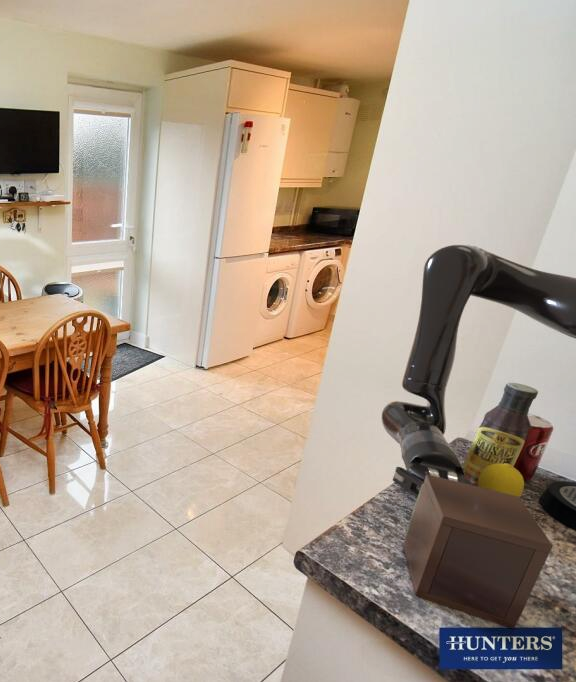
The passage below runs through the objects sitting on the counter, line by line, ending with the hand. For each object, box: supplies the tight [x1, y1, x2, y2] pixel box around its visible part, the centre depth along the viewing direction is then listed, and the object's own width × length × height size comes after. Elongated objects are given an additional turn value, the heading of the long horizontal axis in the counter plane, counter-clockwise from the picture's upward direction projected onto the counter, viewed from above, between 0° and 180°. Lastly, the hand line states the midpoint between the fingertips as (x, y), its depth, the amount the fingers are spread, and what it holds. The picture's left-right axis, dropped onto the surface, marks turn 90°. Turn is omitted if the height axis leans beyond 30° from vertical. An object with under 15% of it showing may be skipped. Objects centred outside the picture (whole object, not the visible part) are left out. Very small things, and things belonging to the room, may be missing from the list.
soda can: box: [513, 412, 554, 484], centre depth 85 cm, size 7×7×12 cm
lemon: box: [477, 463, 525, 498], centre depth 77 cm, size 6×6×8 cm
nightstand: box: [402, 474, 554, 630], centre depth 59 cm, size 10×10×13 cm
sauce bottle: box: [462, 382, 539, 487], centre depth 81 cm, size 6×6×20 cm
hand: (454, 518), depth 65 cm, fingers closed
